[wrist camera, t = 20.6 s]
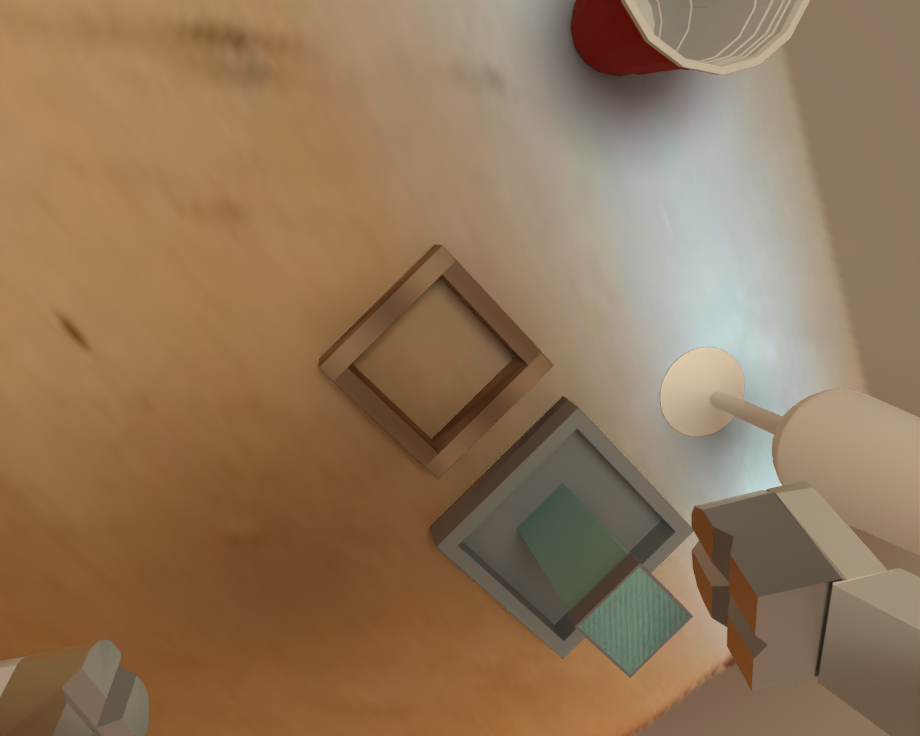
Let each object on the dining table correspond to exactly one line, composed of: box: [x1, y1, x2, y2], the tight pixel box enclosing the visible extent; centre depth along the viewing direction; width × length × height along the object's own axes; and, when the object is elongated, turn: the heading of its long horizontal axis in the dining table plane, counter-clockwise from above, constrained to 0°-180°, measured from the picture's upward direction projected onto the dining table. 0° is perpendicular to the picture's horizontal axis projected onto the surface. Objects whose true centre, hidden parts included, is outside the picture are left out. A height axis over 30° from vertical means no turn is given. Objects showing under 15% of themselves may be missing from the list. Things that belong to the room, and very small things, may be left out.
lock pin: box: [517, 483, 693, 678], centre depth 41 cm, size 5×5×12 cm
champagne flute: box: [660, 347, 920, 555], centre depth 36 cm, size 7×7×24 cm
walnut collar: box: [319, 245, 554, 479], centre depth 42 cm, size 10×10×3 cm
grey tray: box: [430, 397, 694, 659], centre depth 46 cm, size 13×13×3 cm
